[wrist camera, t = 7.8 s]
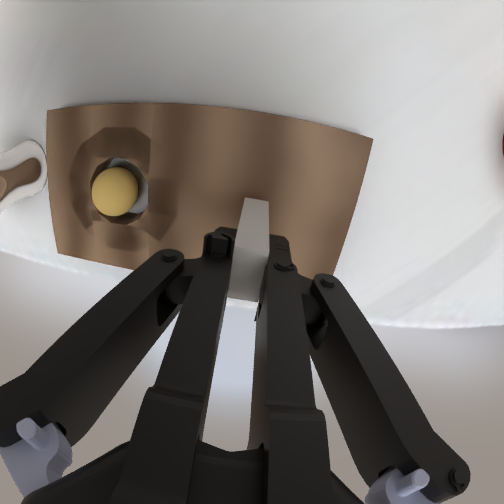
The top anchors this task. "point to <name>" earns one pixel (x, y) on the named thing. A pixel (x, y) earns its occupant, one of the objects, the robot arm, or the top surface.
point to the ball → (114, 191)
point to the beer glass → (21, 172)
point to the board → (202, 179)
